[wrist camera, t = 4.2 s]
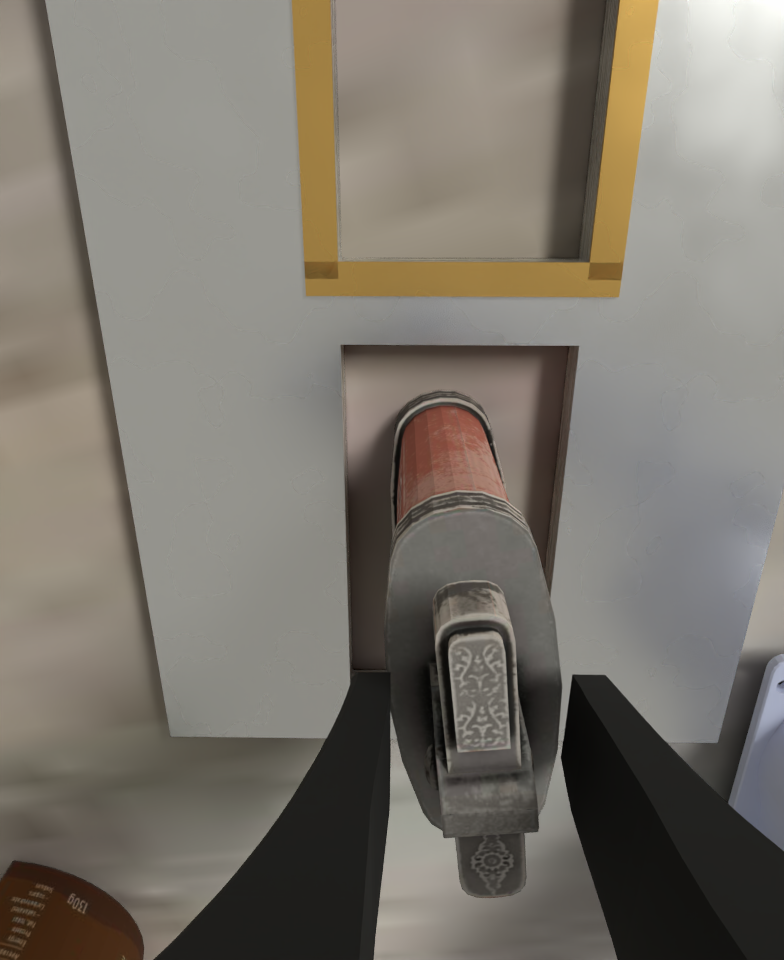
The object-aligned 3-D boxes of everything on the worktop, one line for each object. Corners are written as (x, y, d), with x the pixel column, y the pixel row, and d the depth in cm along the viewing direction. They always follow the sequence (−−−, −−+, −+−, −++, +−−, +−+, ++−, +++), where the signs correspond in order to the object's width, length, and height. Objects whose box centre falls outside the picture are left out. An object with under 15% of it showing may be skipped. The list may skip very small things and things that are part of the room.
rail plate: (704, 720, 23) (718, 745, 22) (180, 714, 23) (169, 738, 22) (1009, -526, 11) (1068, -595, 10) (-17, -516, 12) (-57, -582, 11)
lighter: (511, 627, 21) (595, 957, 12) (406, 636, 21) (409, 968, 12) (500, 383, 18) (601, 577, 9) (377, 396, 18) (350, 600, 9)
